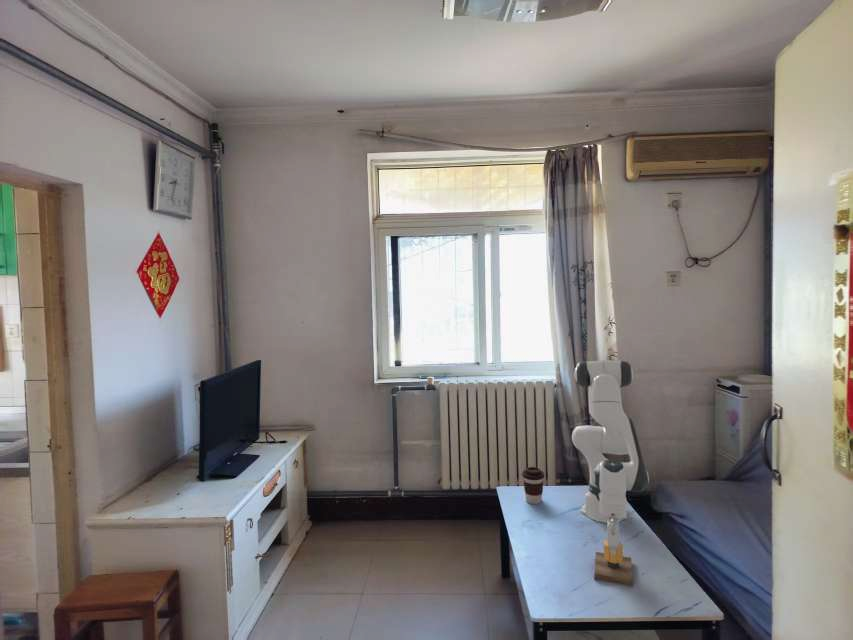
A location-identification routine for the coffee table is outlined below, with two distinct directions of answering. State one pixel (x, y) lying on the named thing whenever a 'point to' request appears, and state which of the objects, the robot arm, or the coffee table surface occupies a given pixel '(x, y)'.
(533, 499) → the coffee cup
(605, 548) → the domed octagonal prism
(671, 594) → the coffee table surface
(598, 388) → the robot arm
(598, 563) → the wooden peg stand
